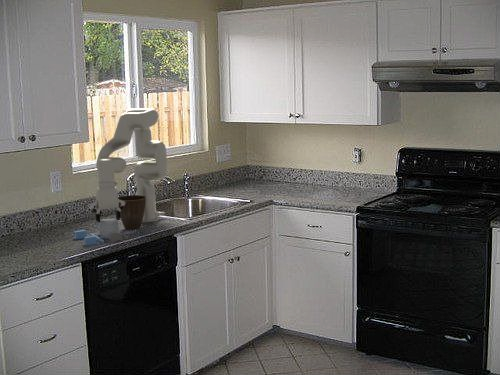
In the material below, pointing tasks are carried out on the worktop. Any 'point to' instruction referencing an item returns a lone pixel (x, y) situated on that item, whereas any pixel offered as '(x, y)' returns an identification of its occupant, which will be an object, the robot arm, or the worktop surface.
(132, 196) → the plant pot
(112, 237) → the grey duct
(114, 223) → the medicine box
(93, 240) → the blue duct
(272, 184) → the worktop surface
